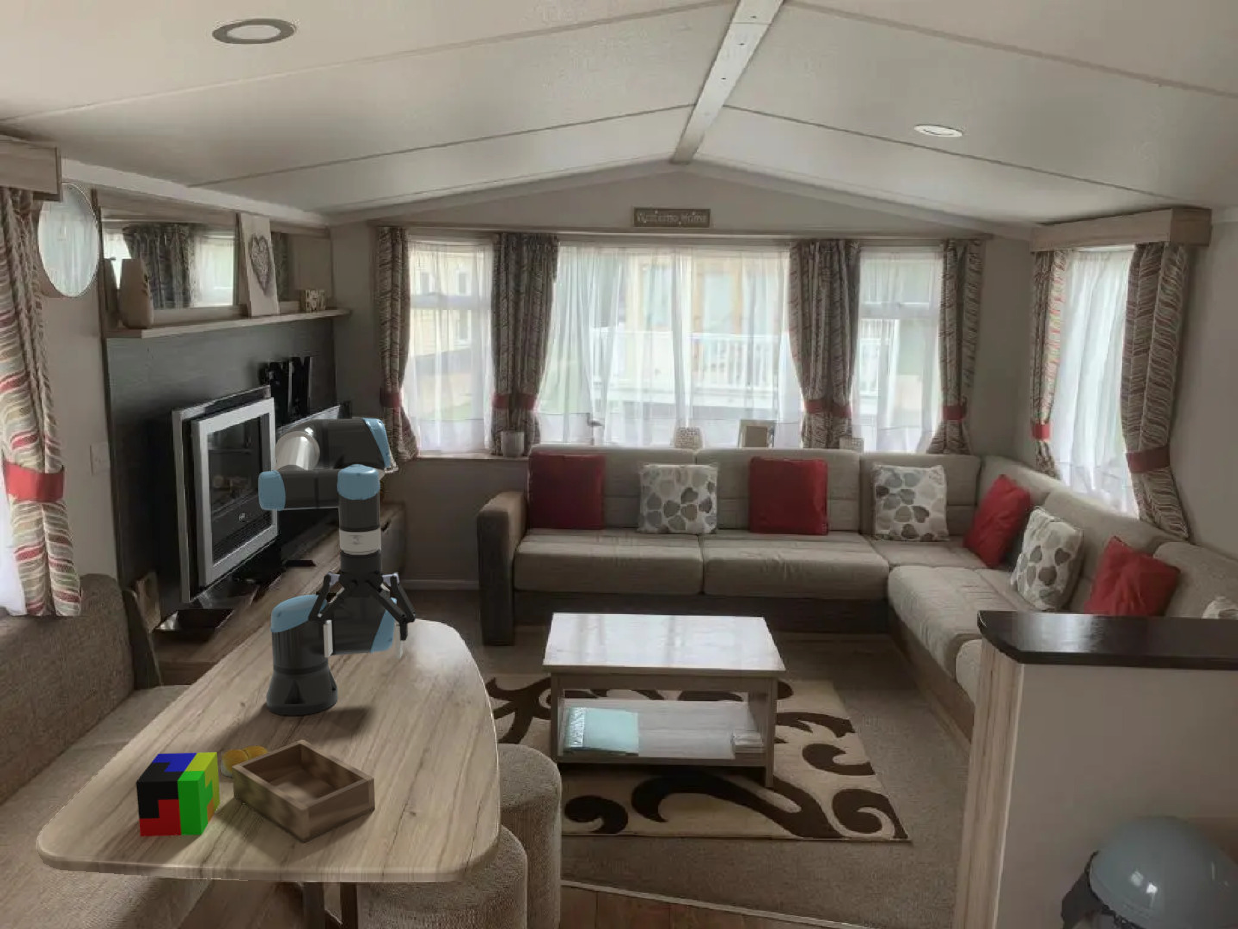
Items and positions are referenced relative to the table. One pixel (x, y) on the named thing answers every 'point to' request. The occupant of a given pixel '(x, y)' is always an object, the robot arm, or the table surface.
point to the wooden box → (303, 789)
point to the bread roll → (239, 757)
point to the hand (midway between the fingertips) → (364, 655)
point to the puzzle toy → (178, 794)
